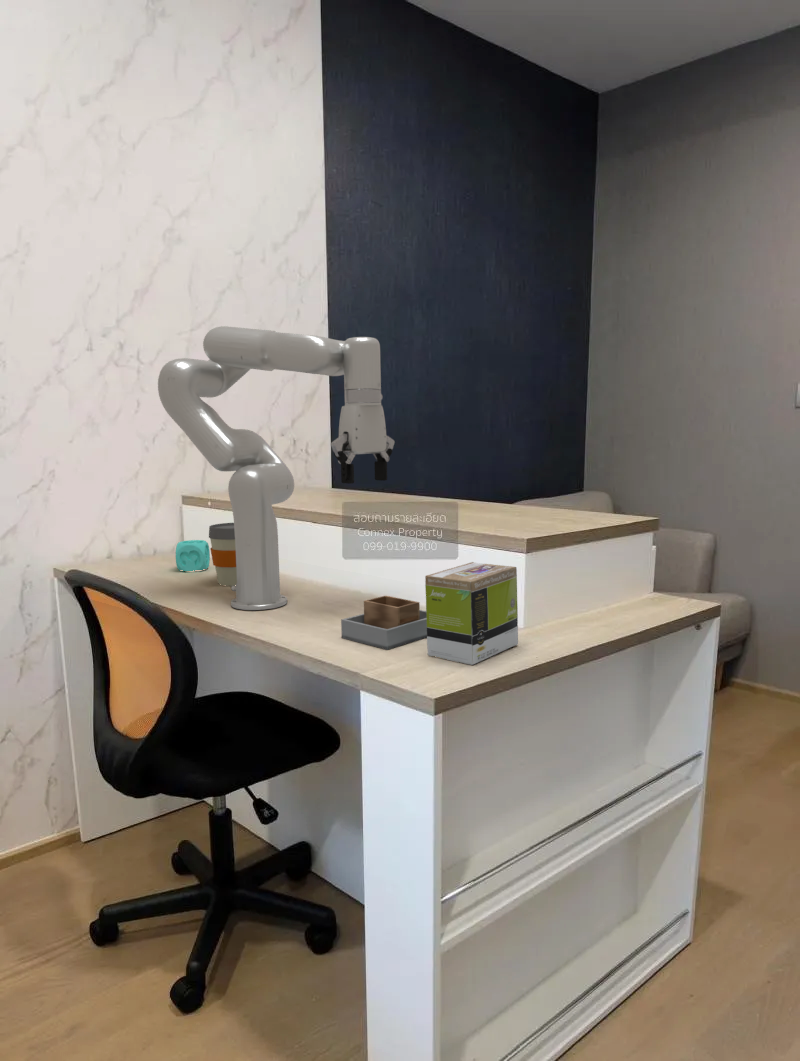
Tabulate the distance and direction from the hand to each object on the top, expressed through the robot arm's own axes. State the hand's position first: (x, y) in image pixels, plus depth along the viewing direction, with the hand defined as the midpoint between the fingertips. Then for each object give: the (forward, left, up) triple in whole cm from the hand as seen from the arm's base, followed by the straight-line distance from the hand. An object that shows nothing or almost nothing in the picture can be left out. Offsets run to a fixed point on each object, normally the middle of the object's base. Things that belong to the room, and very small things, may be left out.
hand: (364, 481), depth 161 cm
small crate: (+16, -9, -28) cm, 33 cm away
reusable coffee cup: (-50, +1, -28) cm, 58 cm away
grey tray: (+16, -9, -28) cm, 34 cm away
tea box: (+34, -7, -29) cm, 45 cm away
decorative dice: (-75, +4, -29) cm, 80 cm away
